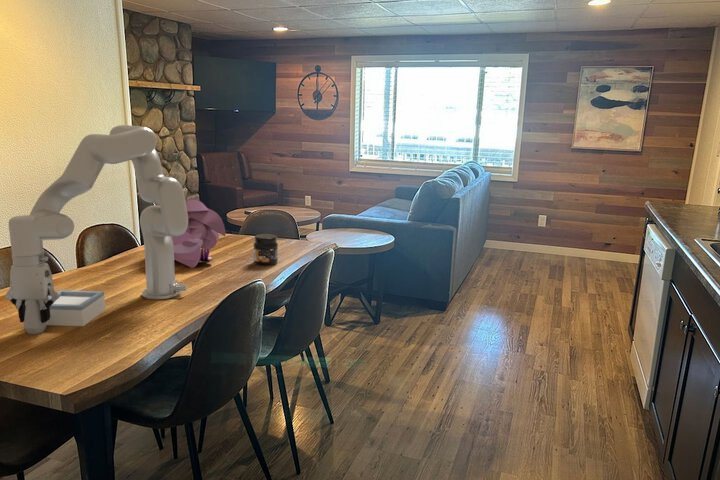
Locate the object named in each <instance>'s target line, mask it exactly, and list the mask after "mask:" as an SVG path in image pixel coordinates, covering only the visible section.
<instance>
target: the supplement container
mask: <svg viewBox="0 0 720 480" xmlns="http://www.w3.org/2000/svg"><path fill="white" fill-rule="evenodd" d="M253 238H254V242H253V244H252V246H253V263H254V264H255V265H258V266H273V265H275V264H277V263H278V259H279V257H278V252H279V251H278V245H279V243H278V242H277V241H278V240H277V235H276V234H270V233H260V234H256V235H254V237H253Z"/></svg>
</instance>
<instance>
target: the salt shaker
mask: <svg viewBox="0 0 720 480" xmlns="http://www.w3.org/2000/svg"><path fill="white" fill-rule="evenodd" d="M25 305H26V308H25V317H24V322H23V328H24V329H25V331H26V332H27V334H28V335H38V334H42V333H43V332H44V331H45V330H46V328H47V326H48V325H47V322H45V323H42V322H41V315H40V310H41V309H42V307H41V305H40V303H39V301H38V300H26V304H25Z"/></svg>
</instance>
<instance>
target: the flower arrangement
mask: <svg viewBox="0 0 720 480" xmlns="http://www.w3.org/2000/svg"><path fill="white" fill-rule="evenodd" d="M185 201H186V208H187V214H188V227H187V230H186V232H185V233H184V234H183V235H181V236H179V237H172V240H173V245H174V261H176V262H179V263H181V264H183V265H185V266H187V267H189V268H191V269H194V268H195V267H196V266H197V265H198V263H211V262H213V260H212V259H213V257H211V256H210V250H211V249H213V248H215V246H216V245H217V242H218V241H219V239H220V236H219V234H220V235H222V236H224V237H226V228H225V224H224V221H223V219H222V217H221V216H220V215H219V213H217V212H216V211H214V210H213V209H210V208H208V207H207V206H206V205H205V204H204V203H203V202H202V201H201V200H197V199H188V200H185Z"/></svg>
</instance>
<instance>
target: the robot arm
mask: <svg viewBox="0 0 720 480" xmlns="http://www.w3.org/2000/svg"><path fill="white" fill-rule="evenodd" d="M157 138H158V137H157V135H156V133H155V132H154V131H153V130H152V129H150V128H149V127H147V126H140V125H131V124H130V125H125V124H124V125H123V124H121V125H115V126H113V128H111V129H110V131H109V134H99V133H98V134H97V133H92V134H91V133H90V134H87V135H85V136H84V137H83V138H82V139H81V141H80V143H79V144H78V146H77V148H76V149H75V151H74V153H73V155H72V157H71V158H70V160H69V161H68V164H67V165H66V167H65V169H64V171H63V173H62V174H61V175H60V176H59V177H58V178H57V179H56V180H55V181H54V182H53V183H52V184H50V186H47V188H46V189H44V191H43V192H42V193H41V194H40V196H39V197H38V198H37V200H36V201H35V203H34V206H33V207H32V209H31V211H30V213H29V214H26V215H25V214H24V215H23V214H22V215H17V216H13V217H11V218H10V219H9V220H8V231H9V239H10V247H11V248H10V249H11V250H10V251H11V259H12V265H10V274H9V286H10V287H9V290H8V291H7V292H6V293H5V295H4V297H5V298H6V299H7V300H9V301H10V302H11V304H13V305H14V307H15V309H17V312H18V314H17V315H18V318H19V322H20V323H24V317H25V308H26V300H38V301H39V303H40V305H41V307H42V309H41V310H40V315H41V322H42V323H45V322H47V321H48V320H49V319H50V306H51V305H52V304H53V303H54V302H55V301H56V300H57V299H59V298H60V295H59V294H58V293H57V292H58V291H56V290H55V286H54V280H53V276H52V271H51V269H50V266H49V264H48V261H49V257H48V256H46V255H45V252H44V243H43V241H51V240H52V241H53V240H55V241H57V240H58V241H59V240H63V239H66V238H68V237H70V236H71V235H72V233H73V232H74V230H75V224H74V221H73V219H72V218H71V217H70V216H68V215H66V214H63V213H61V211H62V209H63V208H64V207H65V205H67V204H68V203H69V202H70V201H71V200H73V199H74V198H76V197H79V196H81V195H84V194H85V193H88V192H89V191H90V190H92V189H93V187H94V184H95V182H96V181H97V179H98V177H99V176H100V173H101V171H102V170H103V167H104V166H105V165H106V164H107V165H116V164H120V163H125V162H129V161H131V163H132V165H133V168H134V174H135V178H136V184H137V189H138V194H139V197H140V198H141V199H142V200H143V201H144V202H146V203H150V204H154V205H149V206H147V207H145V208H144V209H143V210H142V212H141V213H140V216H139V225H140V230H141V233H142V238H143V245H144V264H145V282H146V288H145V289H144V290H142V293H141V294H142V295H141V296H142V297H143V298H145V299H148V300H166V299H171V298H174V297H177V296H179V295H181V292H187V289H188V286H187V285H186V284H185V283H179V282H178V281H179V280H178V279H176V274H175V260H174V245H173V240H172V237H179V236H181V235H183V234H184V233H185V232H186V230H187V227H188V214H187V208H186V201H187V200H186V197H185V191H184V188H183V185H182V184H181V182H179V181H178V180H177V179H176V178H173V177H172V176H165V175H164V172H163V167H162V162H161V159H160V156H159V153H158V152H157V150H156V147H157V144H158V139H157ZM49 296H51V297H52V298H51V299H50V300H49V298H48V297H49Z"/></svg>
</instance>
